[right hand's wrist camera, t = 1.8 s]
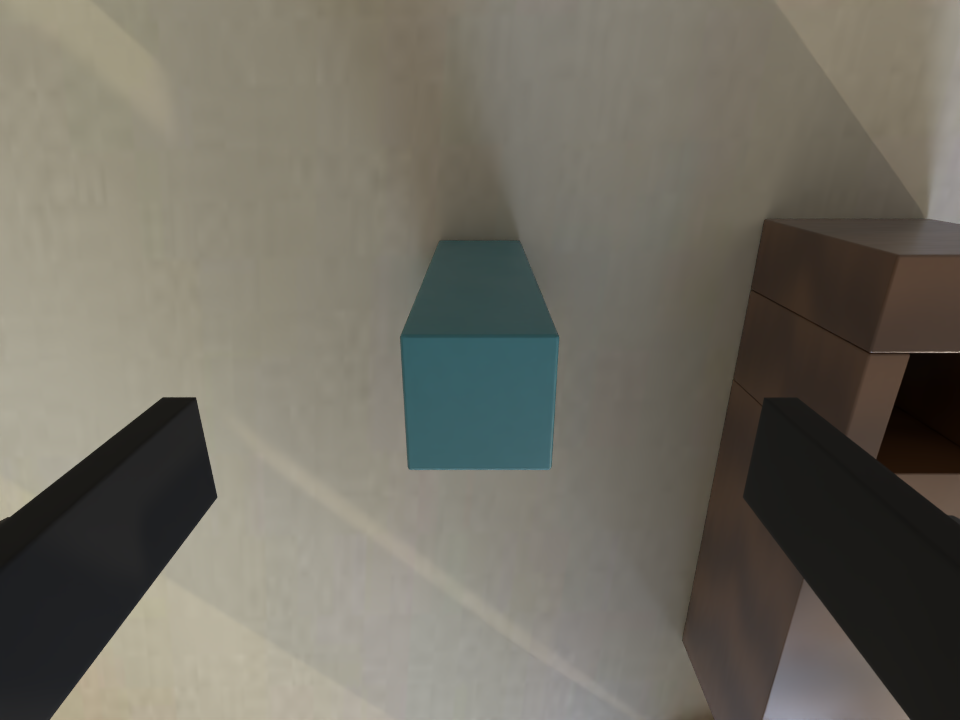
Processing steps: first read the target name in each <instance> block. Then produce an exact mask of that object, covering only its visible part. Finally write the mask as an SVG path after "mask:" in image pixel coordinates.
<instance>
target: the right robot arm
mask: <svg viewBox="0 0 960 720" xmlns="http://www.w3.org/2000/svg"><path fill="white" fill-rule="evenodd" d="M216 498H217V493H216V489H215V484H214V479H213V475H212V470H211V465H210V461H209V456H208V451H207V447H206V442H205V437H204V433H203V428H202V423H201V419H200V414H199V409H198V405H197V400H196V397H163V398H161V399H160V400H159V401H158V402H156V403H155V404H154V405H153V406H151V407H150V408H149V409H147V410H146V411H145V412H144V413H142V414H141V415H140V416H139V417H137V418H136V419H135V420H133V421H132V422H131V423H130V424H128V425H127V426H126V427H124V428H123V429H122V430H121V431H119V432H118V433H117V434H116V435H114V436H113V437H112V438H110V439H109V440H108V441H107V442H105V443H104V444H103V445H101V446H100V447H99V448H98V449H96V450H95V451H94V452H93V453H91V454H90V455H89V456H87V457H86V458H85V459H84V460H82V461H81V462H80V463H79V464H77V465H76V466H75V467H73V468H72V469H71V470H70V471H68V472H67V473H66V474H64V475H63V476H62V477H61V478H59V479H58V480H57V481H56V482H54V483H53V484H52V485H50V486H49V487H48V488H47V489H45V490H44V491H43V492H41V493H40V494H39V495H38V496H36V497H35V498H34V499H33V500H31V501H30V502H29V503H27V504H26V505H25V506H24V507H22V508H21V509H20V510H18V511H17V512H16V513H15V514H13V515H12V516H11V517H7V518H5V519H3V520H1V521H0V720H50V719H51V717H52V716H53V715H54V713H55V712H56V711H57V709H58V708H59V707H60V705H61V704H62V703H63V701H64V700H65V699H66V697H67V696H68V695H69V693H70V692H71V691H72V689H73V688H74V687H75V685H76V684H77V683H78V681H79V680H80V679H81V678H82V676H83V675H84V674H85V672H86V671H87V670H88V668H89V667H90V666H91V664H92V663H93V662H94V660H95V659H96V658H97V656H98V655H99V654H100V652H101V651H102V650H103V648H104V647H105V646H106V644H107V643H108V642H109V640H110V639H111V638H112V636H113V635H114V634H115V632H116V631H117V630H118V628H119V627H120V626H121V624H122V623H123V622H124V620H125V619H126V618H127V617H128V615H129V614H130V613H131V611H132V610H133V609H134V607H135V606H136V605H137V603H138V602H139V601H140V599H141V598H142V597H143V595H144V594H145V593H146V591H147V590H148V589H149V587H150V586H151V585H152V583H153V582H154V581H155V579H156V578H157V577H158V575H159V574H160V573H161V571H162V570H163V569H164V567H165V566H166V565H167V563H168V562H169V561H170V559H171V558H172V557H173V556H174V554H175V553H176V552H177V550H178V549H179V548H180V546H181V545H182V544H183V542H184V541H185V540H186V538H187V537H188V536H189V534H190V533H191V532H192V530H193V529H194V528H195V526H196V525H197V524H198V522H199V521H200V520H201V518H202V517H203V516H204V514H205V513H206V512H207V510H208V509H209V508H210V506H211V505H212V504H213V502H214V501H215V500H216ZM743 498H744V500H745V501H746V502H747V504H748V505H749V506H750V508H751V509H752V510H753V512H754V513H755V514H756V516H757V517H758V518H759V520H760V521H761V522H762V524H763V525H764V526H765V528H766V529H767V530H768V532H769V533H770V534H771V536H772V537H773V538H774V540H775V541H776V542H777V544H778V545H779V546H780V548H781V549H782V550H783V552H784V553H785V554H786V556H787V557H788V558H789V559H790V561H791V562H792V563H793V565H794V566H795V567H796V569H797V570H798V571H799V573H800V574H801V575H802V577H803V578H804V579H805V581H806V582H807V583H808V585H809V586H810V587H811V589H812V590H813V591H814V593H815V594H816V595H817V597H818V598H819V599H820V601H821V602H822V603H823V605H824V606H825V607H826V609H827V610H828V611H829V613H830V614H831V615H832V617H833V618H834V619H835V620H836V622H837V623H838V624H839V626H840V627H841V628H842V630H843V631H844V632H845V634H846V635H847V636H848V638H849V639H850V640H851V642H852V643H853V644H854V646H855V647H856V648H857V650H858V651H859V652H860V654H861V655H862V656H863V658H864V659H865V660H866V662H867V663H868V664H869V666H870V667H871V668H872V670H873V671H874V672H875V674H876V675H877V676H878V678H879V679H880V680H881V681H882V683H883V684H884V685H885V687H886V688H887V689H888V691H889V692H890V693H891V695H892V696H893V697H894V699H895V700H896V701H897V703H898V704H899V705H900V707H901V708H902V709H903V711H904V712H905V713H906V715H907V716H908V717H909V719H910V720H960V519H959V518H957V517H955V516H953V515H947V514H945V513H944V512H943V511H942V510H940V509H939V508H938V507H936V506H935V505H934V504H933V503H931V502H930V501H929V500H927V499H926V498H925V497H924V496H922V495H921V494H920V493H919V492H917V491H916V490H915V489H913V488H912V487H911V486H910V485H908V484H907V483H906V482H904V481H903V480H902V479H901V478H899V477H898V476H897V475H896V474H894V473H893V472H892V471H890V470H889V469H888V468H887V467H885V466H884V465H883V464H881V463H880V462H879V461H878V460H876V459H875V458H874V457H873V456H871V455H870V454H869V453H867V452H866V451H865V450H864V449H862V448H861V447H860V446H859V445H857V444H856V443H855V442H853V441H852V440H851V439H850V438H848V437H847V436H846V435H844V434H843V433H842V432H841V431H839V430H838V429H837V428H836V427H834V426H833V425H832V424H830V423H829V422H828V421H827V420H825V419H824V418H823V417H821V416H820V415H819V414H818V413H816V412H815V411H814V410H813V409H811V408H810V407H809V406H807V405H806V404H805V403H804V402H802V401H801V400H800V399H799V398H797V397H764V400H763V405H762V409H761V414H760V419H759V423H758V428H757V433H756V437H755V442H754V447H753V451H752V456H751V461H750V465H749V470H748V475H747V479H746V484H745V489H744V493H743Z"/></svg>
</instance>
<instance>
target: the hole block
mask: <svg viewBox="0 0 960 720" xmlns="http://www.w3.org/2000/svg"><path fill="white" fill-rule="evenodd" d="M751 288H752V290H751V292H750V297H749V302H748V307H747V312H746V318H745V323H744V328H743V333H742V338H741V343H740V348H739V353H738V359H737V364H736V369H735V374H734V380H733V383H732V388H731V393H730V398H729V403H728V409H727V414H726V419H725V424H724V429H723V434H722V439H721V445H720V450H719V455H718V460H717V465H716V470H715V475H714V481H713V486H712V491H711V496H710V501H709V506H708V511H707V516H706V522H705V527H704V532H703V537H702V542H701V547H700V552H699V558H698V563H697V568H696V573H695V578H694V583H693V588H692V594H691V599H690V604H689V609H688V614H687V619H686V624H685V629H684V635H683V640H682V641H683V643H684V646H685V648H686V651H687V653H688V656H689V658H690V661H691V663H692V666H693V668H694V670H695V673H696V675H697V678H698V680H699V683H700V685H701V688H702V690H703V693H704V695H705V698H706V700H707V702H708V705H709V707H710V710H711V712H712V715H713V717H714V720H910V719H909V717H908V716H907V715H906V713H905V712H904V711H903V709H902V708H901V707H900V705H899V704H898V703H897V701H896V700H895V699H894V697H893V696H892V695H891V693H890V692H889V691H888V689H887V688H886V687H885V685H884V684H883V683H882V681H881V680H880V679H879V678H878V676H877V675H876V674H875V672H874V671H873V670H872V668H871V667H870V666H869V664H868V663H867V662H866V660H865V659H864V658H863V656H862V655H861V654H860V652H859V651H858V650H857V648H856V647H855V646H854V644H853V643H852V642H851V640H850V639H849V638H848V636H847V635H846V634H845V632H844V631H843V630H842V628H841V627H840V626H839V624H838V623H837V622H836V620H835V619H834V618H833V617H832V615H831V614H830V613H829V611H828V610H827V609H826V607H825V606H824V605H823V603H822V602H821V601H820V599H819V598H818V597H817V595H816V594H815V593H814V591H813V590H812V589H811V587H810V586H809V585H808V583H807V582H806V581H805V579H804V578H803V577H802V575H801V574H800V573H799V571H798V570H797V569H796V567H795V566H794V565H793V563H792V562H791V561H790V559H789V558H788V557H787V556H786V554H785V553H784V552H783V550H782V549H781V548H780V546H779V545H778V544H777V542H776V541H775V540H774V538H773V537H772V536H771V534H770V533H769V532H768V530H767V529H766V528H765V526H764V525H763V524H762V522H761V521H760V520H759V518H758V517H757V516H756V514H755V513H754V512H753V510H752V509H751V508H750V506H749V505H748V504H747V502H746V501H745V500H744V498H743V493H744V489H745V484H746V479H747V475H748V470H749V465H750V461H751V456H752V451H753V447H754V442H755V437H756V433H757V428H758V423H759V419H760V414H761V409H762V405H763V400H764V397H797V398H799V399H800V400H801V401H802V402H804V403H805V404H806V405H807V406H809V407H810V408H811V409H813V410H814V411H815V412H816V413H818V414H819V415H820V416H821V417H823V418H824V419H825V420H827V421H828V422H829V423H830V424H832V425H833V426H834V427H836V428H837V429H838V430H839V431H841V432H842V433H843V434H844V435H846V436H847V437H848V438H850V439H851V440H852V441H853V442H855V443H856V444H857V445H859V446H860V447H861V448H862V449H864V450H865V451H866V452H867V453H869V454H870V455H871V456H873V457H874V458H875V459H876V460H878V461H879V462H880V463H881V464H883V465H884V466H885V467H887V468H888V469H889V470H890V471H892V472H893V473H894V474H896V475H897V476H898V477H899V478H901V479H902V480H903V481H904V482H906V483H907V484H908V485H910V486H911V487H912V488H913V489H915V490H916V491H917V492H919V493H920V494H921V495H922V496H924V497H925V498H926V499H927V500H929V501H930V502H931V503H933V504H934V505H935V506H936V507H938V508H939V509H940V510H942V511H943V512H944V513H945V514H947V515H953V516H955V517H957V518H959V519H960V224H955V223H949V222H943V221H937V220H932V219H766V220H765V221H764V225H763V231H762V236H761V241H760V246H759V251H758V256H757V261H756V266H755V272H754V277H753V282H752V287H751Z"/></svg>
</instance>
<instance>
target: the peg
mask: <svg viewBox="0 0 960 720" xmlns="http://www.w3.org/2000/svg"><path fill="white" fill-rule="evenodd" d="M400 344H401V361H402V378H403V394H404V411H405V428H406V445H407V461H408V468H409V469H410V470H549V469H551V467H552V450H553V433H554V416H555V399H556V382H557V365H558V348H559V336H558V333H557V331H556V328H555V326H554V323H553V321H552V318H551V316H550V313H549V311H548V309H547V306H546V304H545V301H544V299H543V296H542V294H541V291H540V289H539V287H538V284H537V282H536V279H535V277H534V274H533V272H532V269H531V267H530V264H529V262H528V260H527V257H526V255H525V252H524V250H523V247H522V245H521V242H520V241H439V243H438V246H437V248H436V251H435V253H434V256H433V258H432V260H431V263H430V265H429V268H428V270H427V273H426V275H425V278H424V280H423V282H422V285H421V287H420V290H419V292H418V295H417V297H416V299H415V302H414V304H413V307H412V309H411V312H410V314H409V317H408V319H407V321H406V324H405V326H404V329H403V331H402V334H401V336H400Z"/></svg>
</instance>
